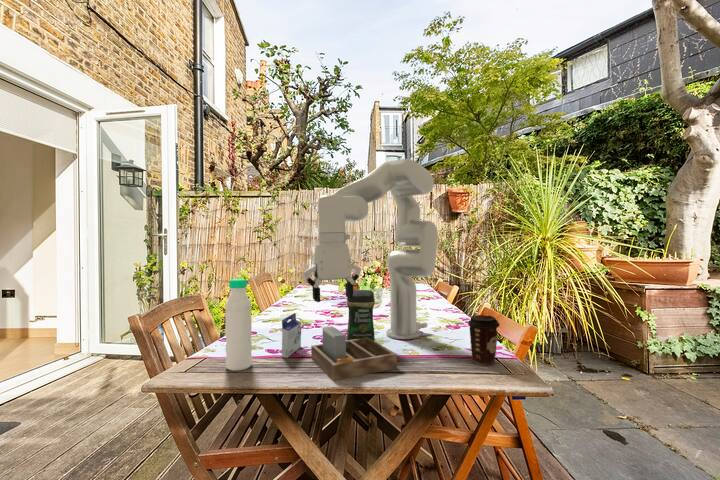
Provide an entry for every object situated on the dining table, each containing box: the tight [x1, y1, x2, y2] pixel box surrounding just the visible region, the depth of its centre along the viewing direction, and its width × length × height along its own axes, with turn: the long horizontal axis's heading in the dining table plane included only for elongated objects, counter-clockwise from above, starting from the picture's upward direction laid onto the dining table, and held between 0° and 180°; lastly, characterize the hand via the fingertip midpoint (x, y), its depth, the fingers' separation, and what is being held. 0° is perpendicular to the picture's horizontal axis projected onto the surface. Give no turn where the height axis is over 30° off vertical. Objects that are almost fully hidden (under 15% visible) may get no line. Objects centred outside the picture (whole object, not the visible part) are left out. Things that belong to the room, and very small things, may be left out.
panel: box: [322, 325, 347, 363], centre depth 103 cm, size 3×10×10 cm, turn 26°
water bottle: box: [224, 278, 253, 372], centre depth 103 cm, size 7×7×25 cm
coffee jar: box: [346, 289, 376, 342], centre depth 123 cm, size 10×8×19 cm
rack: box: [310, 337, 398, 381], centre depth 105 cm, size 19×18×5 cm
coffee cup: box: [467, 314, 500, 366], centre depth 106 cm, size 9×8×13 cm
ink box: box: [281, 312, 302, 359], centre depth 116 cm, size 12×2×12 cm, turn 168°
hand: (333, 299), depth 102 cm, fingers open, 9 cm apart
